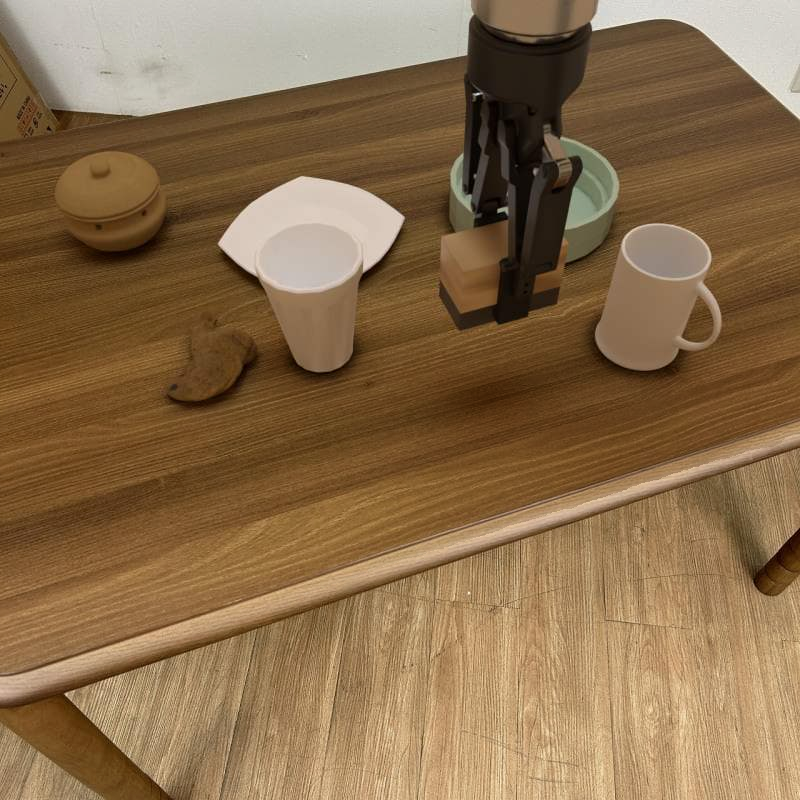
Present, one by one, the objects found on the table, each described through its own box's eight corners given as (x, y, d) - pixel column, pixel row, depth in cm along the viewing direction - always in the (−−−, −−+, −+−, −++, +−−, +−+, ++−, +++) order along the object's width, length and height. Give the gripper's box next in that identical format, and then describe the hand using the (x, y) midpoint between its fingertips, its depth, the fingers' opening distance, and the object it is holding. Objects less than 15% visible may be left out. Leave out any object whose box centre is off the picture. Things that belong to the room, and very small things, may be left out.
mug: (720, 368, 75) (764, 278, 65) (660, 405, 72) (696, 317, 63) (636, 301, 81) (665, 210, 72) (577, 332, 78) (599, 242, 69)
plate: (425, 226, 90) (426, 213, 88) (330, 322, 80) (328, 309, 78) (301, 177, 97) (299, 163, 95) (198, 259, 87) (194, 246, 85)
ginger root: (210, 321, 80) (202, 296, 78) (275, 364, 76) (269, 339, 73) (137, 375, 76) (126, 350, 73) (202, 424, 72) (193, 400, 69)
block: (533, 271, 66) (543, 210, 61) (557, 304, 63) (569, 243, 58) (438, 296, 64) (440, 236, 59) (459, 331, 61) (463, 271, 56)
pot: (126, 193, 95) (99, 122, 87) (194, 223, 91) (173, 151, 83) (54, 244, 89) (19, 172, 81) (124, 278, 85) (94, 206, 77)
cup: (338, 403, 73) (325, 306, 63) (255, 367, 76) (230, 269, 66) (388, 337, 78) (384, 239, 68) (309, 306, 82) (294, 208, 71)
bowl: (632, 198, 93) (642, 160, 88) (571, 291, 82) (580, 252, 78) (492, 155, 99) (496, 117, 95) (419, 236, 89) (420, 197, 85)
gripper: (421, -30, 50) (419, 245, 68) (541, 99, 39) (501, 383, 57) (523, -48, 51) (495, 226, 69) (665, 72, 41) (587, 357, 59)
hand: (498, 297), depth 63 cm, fingers closed on block, 4 cm apart
